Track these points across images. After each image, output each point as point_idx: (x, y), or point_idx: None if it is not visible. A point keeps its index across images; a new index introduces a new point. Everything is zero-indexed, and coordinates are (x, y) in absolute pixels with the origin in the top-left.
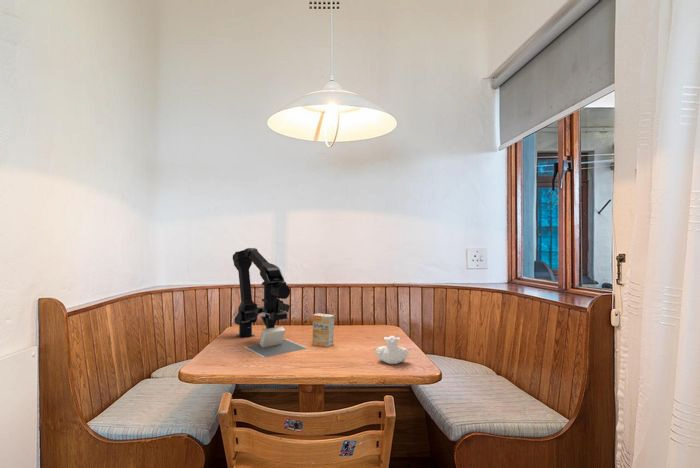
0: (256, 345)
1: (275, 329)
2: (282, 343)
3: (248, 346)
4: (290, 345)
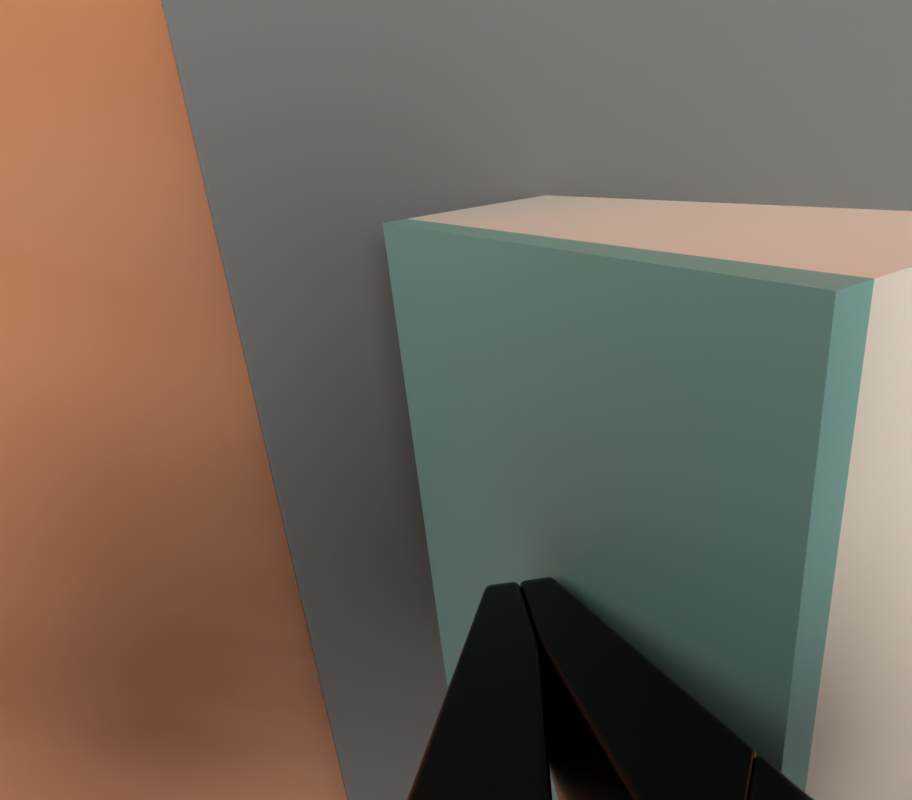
0: (377, 668)
1: (888, 660)
2: (524, 161)
3: (369, 777)
4: (807, 49)
